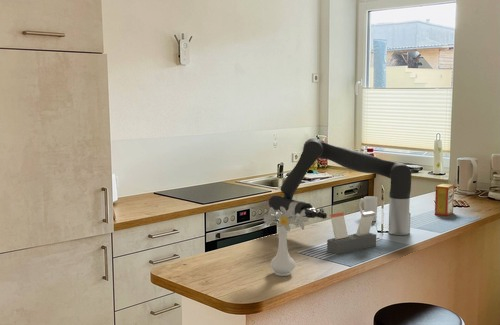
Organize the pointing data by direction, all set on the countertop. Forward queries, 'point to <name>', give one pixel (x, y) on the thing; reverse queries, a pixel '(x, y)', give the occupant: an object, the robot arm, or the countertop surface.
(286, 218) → the flower vase
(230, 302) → the countertop surface
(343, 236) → the panel
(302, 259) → the countertop surface
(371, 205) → the mug
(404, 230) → the robot arm
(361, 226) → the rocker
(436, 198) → the baking soda box
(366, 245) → the gray rectangular block
